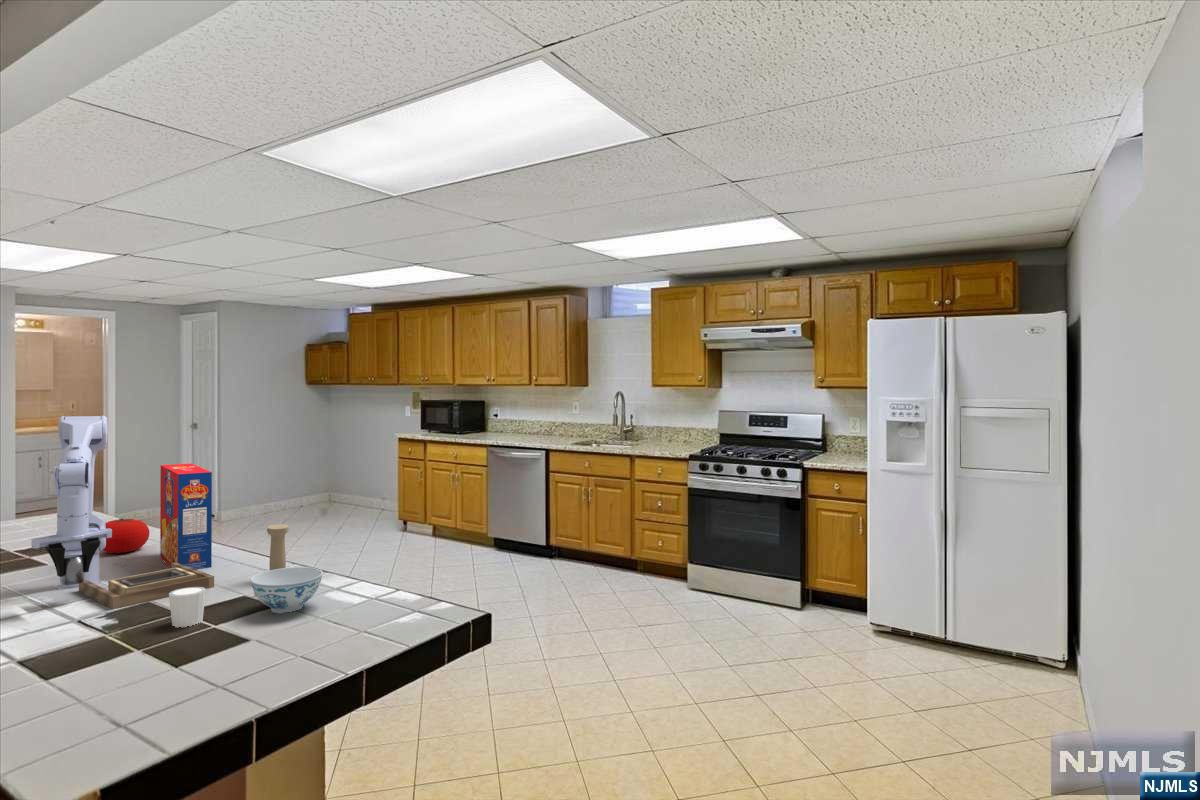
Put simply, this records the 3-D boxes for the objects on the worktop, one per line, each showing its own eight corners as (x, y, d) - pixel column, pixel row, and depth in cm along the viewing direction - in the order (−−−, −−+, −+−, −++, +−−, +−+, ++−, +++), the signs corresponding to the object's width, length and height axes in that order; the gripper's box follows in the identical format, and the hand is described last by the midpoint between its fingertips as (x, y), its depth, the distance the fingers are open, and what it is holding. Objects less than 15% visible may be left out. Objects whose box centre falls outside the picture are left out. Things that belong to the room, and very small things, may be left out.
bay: (78, 596, 160) (78, 580, 160) (175, 577, 178) (175, 562, 178) (113, 614, 148) (113, 597, 148) (214, 592, 165) (214, 576, 165)
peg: (59, 582, 151) (59, 556, 151) (80, 579, 155) (80, 553, 154) (65, 586, 149) (65, 559, 149) (86, 582, 152) (86, 556, 152)
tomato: (115, 546, 211) (115, 514, 211) (157, 546, 213) (157, 514, 213) (85, 558, 197) (85, 523, 197) (131, 557, 199) (131, 522, 198)
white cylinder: (213, 619, 145) (213, 588, 145) (184, 630, 139) (184, 597, 139) (190, 616, 147) (190, 584, 147) (160, 626, 141) (160, 593, 141)
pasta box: (160, 557, 199) (160, 465, 198) (191, 553, 204) (191, 463, 204) (177, 577, 178) (178, 474, 178) (211, 572, 183) (211, 472, 183)
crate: (108, 594, 158) (108, 580, 158) (177, 580, 170) (177, 567, 170) (126, 603, 151) (126, 588, 151) (196, 588, 164) (196, 574, 164)
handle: (269, 588, 169) (269, 529, 168) (265, 582, 174) (265, 525, 174) (289, 585, 171) (290, 527, 171) (285, 579, 177) (285, 523, 176)
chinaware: (336, 603, 157) (336, 571, 157) (282, 623, 143) (282, 588, 143) (291, 595, 163) (291, 564, 163) (235, 613, 149) (235, 579, 149)
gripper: (38, 522, 143) (38, 584, 144) (116, 512, 155) (116, 569, 155) (28, 518, 147) (28, 578, 148) (105, 509, 159) (105, 564, 159)
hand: (73, 573), depth 152 cm, fingers closed on peg, 4 cm apart
